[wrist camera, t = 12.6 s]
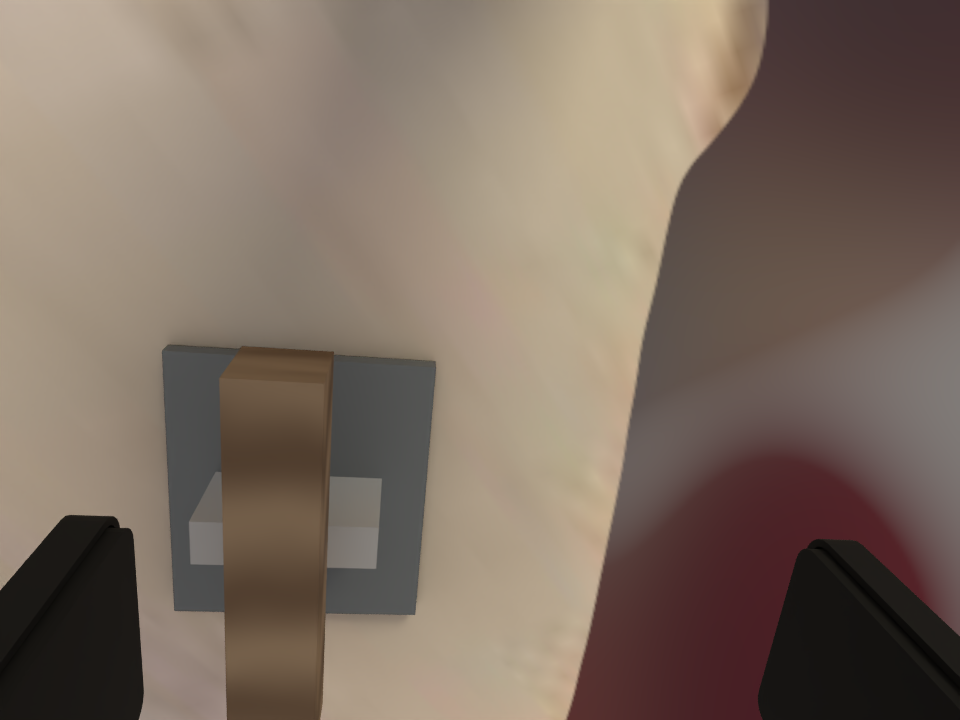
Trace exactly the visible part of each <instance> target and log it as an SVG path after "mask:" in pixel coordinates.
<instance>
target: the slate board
mask: <svg viewBox="0 0 960 720" xmlns="http://www.w3.org/2000/svg"><path fill="white" fill-rule="evenodd" d="M239 350H240V349H228V348H212V347H196V346H180V345H168V346H167V347H166V348H165V349H163V350H162V359H163V380H164V402H165V423H166V444H167V465H168V486H169V507H170V528H171V549H172V570H173V591H174V611H209V612H225V609H224V565H223V520H222V476H221V432H220V387H219V378H220V376H221V375H222V374H223V372H224V371H225V369H226V368H227V367H228V365H229V364H230V362H231V361H232V360H233V358H234V357H235V355H236V354H237V353H238V351H239ZM435 373H436V363H435V361H422V360H406V359H390V358H374V357H358V356H342V355H334V367H333V397H332V428H331V458H330V489H329V520H328V550H327V581H326V611H325V613H332V614H393V615H415V610H416V599H417V587H418V575H419V563H420V551H421V539H422V527H423V516H424V504H425V492H426V480H427V468H428V456H429V444H430V432H431V421H432V409H433V397H434V385H435Z"/></svg>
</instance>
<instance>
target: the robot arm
mask: <svg viewBox="0 0 960 720" xmlns="http://www.w3.org/2000/svg"><path fill="white" fill-rule="evenodd" d="M143 696H144V687H143V672H142V657H141V642H140V627H139V612H138V597H137V583H136V568H135V553H134V539H133V533H132V531H131V529H129V528H120V526H119V522H118V520H117V519H116V518H115V517H114V516H84V515H68V516H65V517H64V518H63V519H61V520H60V522H59V523H58V524H57V525H56V526H55V527H54V529H53V530H52V531H51V532H50V533H49V534H48V536H47V537H46V538H45V539H44V540H43V541H42V543H41V544H40V545H39V546H38V547H37V548H36V550H35V551H34V552H33V553H32V554H31V555H30V557H29V558H28V559H27V560H26V561H25V562H24V564H23V565H22V566H21V567H20V568H19V569H18V571H17V572H16V573H15V574H14V575H13V576H12V578H11V579H10V580H9V581H8V582H7V583H6V585H5V586H4V587H3V588H2V589H1V590H0V720H138V719H139V717H140V713H141V709H142V704H143ZM758 704H759V710H760V713H761V717H762V719H763V720H960V636H959V635H958V634H956V633H955V632H954V631H953V630H952V629H951V628H950V627H949V626H948V625H947V624H946V623H945V622H944V621H943V620H941V618H939V617H938V616H937V615H936V614H935V613H934V612H933V611H932V610H931V609H930V608H929V607H928V606H927V605H926V604H925V603H924V602H922V601H921V600H920V599H919V598H918V597H917V596H916V595H915V594H914V593H913V592H912V591H911V590H910V589H909V588H908V587H906V586H905V585H904V584H903V583H902V582H901V581H900V580H899V579H898V578H897V577H896V576H895V575H894V574H893V573H892V572H890V571H889V570H888V569H887V568H886V567H885V566H884V565H883V564H882V563H881V562H880V561H879V560H878V559H876V558H875V557H874V555H872V554H871V553H870V552H869V551H868V550H867V549H866V548H865V547H864V546H863V545H861V544H860V543H858V542H857V541H853V540H830V539H816V540H814V541H812V542H811V543H810V544H809V546H808V548H807V549H803V550H801V551H800V553H799V554H798V556H797V559H796V562H795V566H794V569H793V573H792V576H791V580H790V583H789V587H788V590H787V594H786V598H785V601H784V605H783V608H782V612H781V615H780V619H779V622H778V626H777V629H776V633H775V636H774V640H773V644H772V647H771V650H770V654H769V657H768V661H767V664H766V668H765V672H764V675H763V678H762V682H761V686H760V689H759V694H758Z"/></svg>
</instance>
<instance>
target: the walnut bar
mask: <svg viewBox="0 0 960 720" xmlns="http://www.w3.org/2000/svg"><path fill="white" fill-rule="evenodd" d="M333 367H334V352H328V351H311V350H295V349H278V348H262V347H245V346H242V347H241V348H240V350H239V351H238V353H237V354H236V355H235V357H234V358H233V360H232V361H231V362H230V364H229V365H228V367H227V368H226V369H225V371H224V372H223V374H222V375H221V376H220V378H219V387H220V432H221V476H222V520H223V565H224V609H225V654H226V698H227V720H320V717H321V710H322V703H323V673H324V642H325V611H326V581H327V550H328V520H329V489H330V458H331V428H332V397H333Z"/></svg>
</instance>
